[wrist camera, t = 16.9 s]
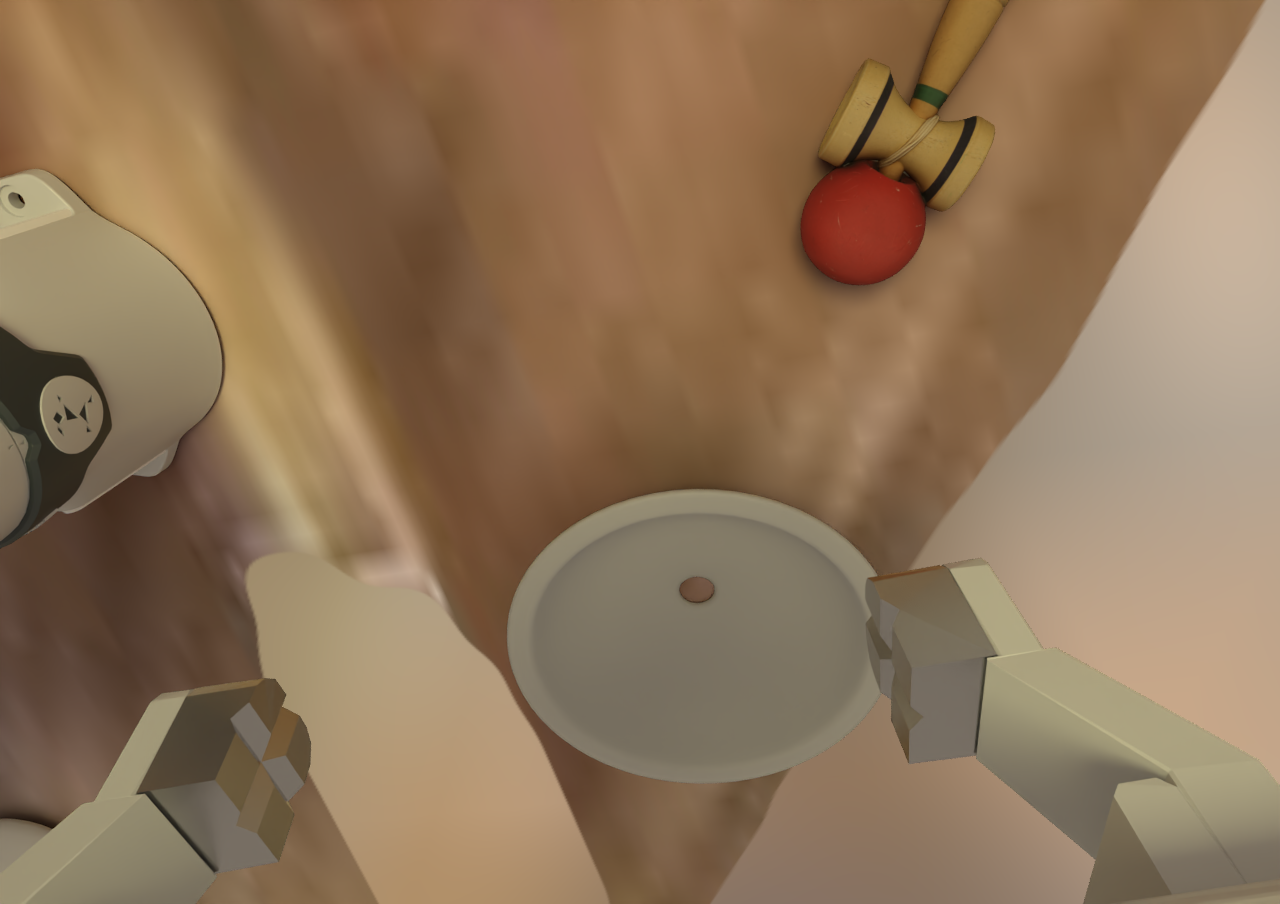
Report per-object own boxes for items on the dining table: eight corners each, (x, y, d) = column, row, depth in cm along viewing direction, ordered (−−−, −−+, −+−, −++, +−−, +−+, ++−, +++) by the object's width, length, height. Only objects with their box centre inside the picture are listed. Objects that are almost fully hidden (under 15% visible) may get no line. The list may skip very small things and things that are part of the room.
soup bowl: (583, 384, 48) (569, 436, 42) (940, 504, 51) (973, 568, 45) (487, 659, 59) (467, 730, 54) (783, 744, 62) (794, 819, 57)
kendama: (918, -141, 36) (749, 240, 42) (998, -179, 30) (789, 266, 36) (1047, -59, 38) (869, 289, 44) (1144, -81, 33) (924, 321, 39)
